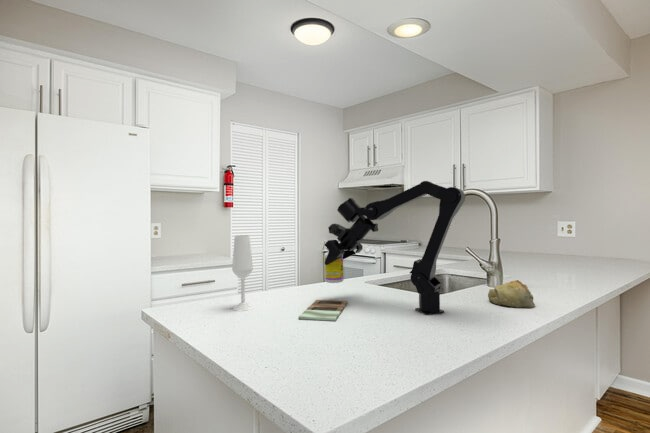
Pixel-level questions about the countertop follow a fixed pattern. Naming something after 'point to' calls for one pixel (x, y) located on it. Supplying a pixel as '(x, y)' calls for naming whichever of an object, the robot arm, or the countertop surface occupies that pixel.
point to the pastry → (512, 295)
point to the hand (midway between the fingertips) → (330, 262)
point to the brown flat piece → (324, 310)
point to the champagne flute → (242, 266)
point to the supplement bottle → (334, 270)
